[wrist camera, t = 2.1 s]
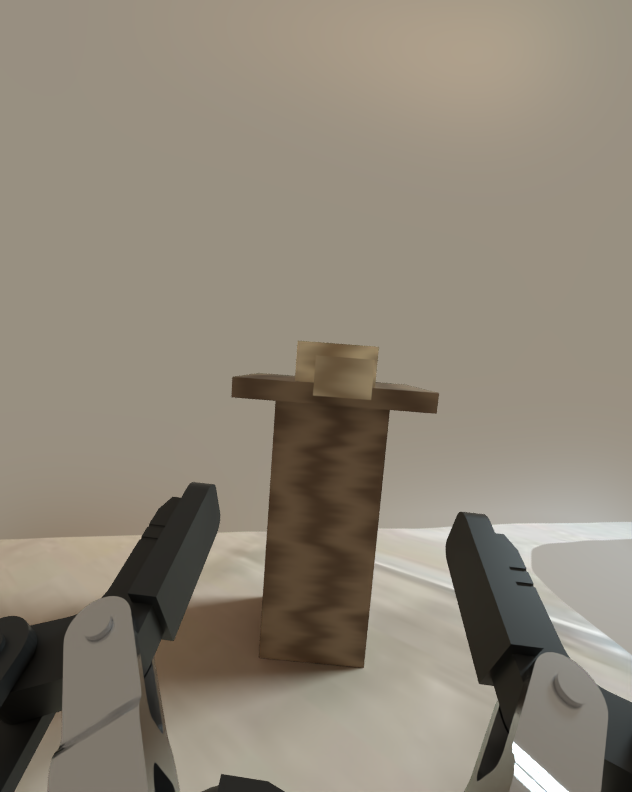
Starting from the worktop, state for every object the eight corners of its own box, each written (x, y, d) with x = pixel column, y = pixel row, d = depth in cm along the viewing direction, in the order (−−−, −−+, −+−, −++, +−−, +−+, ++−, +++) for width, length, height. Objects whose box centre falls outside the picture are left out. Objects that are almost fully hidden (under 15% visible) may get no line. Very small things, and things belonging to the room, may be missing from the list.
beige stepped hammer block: (364, 382, 40) (367, 350, 40) (408, 403, 20) (415, 335, 19) (300, 377, 41) (303, 345, 40) (275, 392, 20) (280, 325, 19)
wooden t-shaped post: (382, 603, 47) (405, 384, 44) (404, 693, 35) (438, 393, 31) (246, 591, 48) (259, 372, 45) (217, 675, 35) (232, 376, 32)
